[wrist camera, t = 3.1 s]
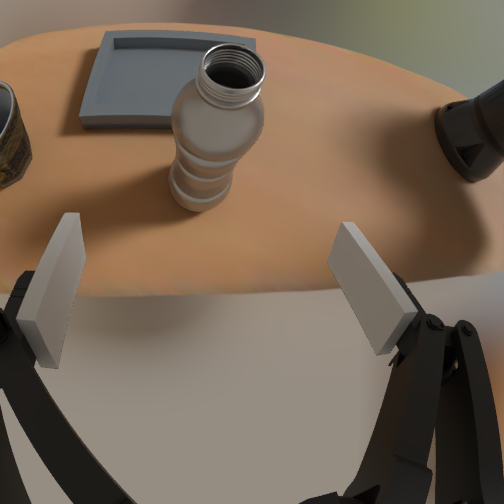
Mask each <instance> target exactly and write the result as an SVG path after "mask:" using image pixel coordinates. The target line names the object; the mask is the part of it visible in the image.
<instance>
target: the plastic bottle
mask: <svg viewBox="0 0 504 504" xmlns="http://www.w3.org/2000/svg"><path fill="white" fill-rule="evenodd" d="M265 74H266V67H265V64H264V61H263V59H262V58H261V57H260V55H258V54H257V53H256V52H255V51H254V50H252V49H251V48H249V47H247V46H244V45H241V44H236V43H223V44H219V45H216V46H214V47H212V48H210V49H209V50H207V52H206V53H205V54H204V55H203V57H202V59H201V62H200V67H199V70H198V71H197V75H196V78H194V79H192V80H191V81H189V82H188V83H187V84H186V85H185V86H184V87H183V88H182V89H181V91H180V92H179V94H178V95H177V97H176V99H175V101H174V103H173V106H172V110H171V123H172V129H173V134H174V138H175V142H176V155H175V159H174V161H173V163H172V165H171V168H170V171H169V176H168V184H169V188H170V191H171V193H172V195H173V197H174V199H175V200H176V201H177V203H178V204H180V205H181V206H182V207H184V208H185V209H187V210H190V211H195V212H202V211H207V210H210V209H212V208H214V207H216V206H217V205H218V204H220V203H221V202H222V201H223V200H224V199H225V198H226V196H227V195H228V193H229V191H230V188H231V184H232V176H233V170H234V167H235V166H236V164H237V163H238V161H239V160H240V159H241V158H242V156H243V155H244V154H245V153H246V152H247V151H249V149H250V148H251V147H252V146H253V145H254V144H255V142H256V141H257V140H258V138H259V136H260V135H261V133H262V129H263V126H264V105H263V102H262V99H261V97H260V95H259V93H260V90H261V85H262V83H263V81H264V78H265Z"/></svg>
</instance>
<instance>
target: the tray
mask: <svg viewBox="0 0 504 504" xmlns="http://www.w3.org/2000/svg"><path fill="white" fill-rule="evenodd" d="M223 43H236V44H241V45H244V46H247V47H249V48H251V49H252V50H254V51H255V52H256V41H255V39H253V38H247V37H240V36H232V35H224V34H214V33H203V32H190V31H170V30H123V31H106V32H105V34H104V37H103V39H102V42H101V45H100V48H99V50H98V53H97V56H96V59H95V62H94V65H93V68H92V71H91V74H90V77H89V81H88V84H87V87H86V91H85V94H84V98H83V102H82V105H81V109H80V113H79V118H80V121H81V123H82V125H83V128H84V129H106V128H147V129H172V123H171V110H172V106H173V103H174V101H175V99H176V97H177V95H178V94H179V92H180V91H181V89H182V88H183V87H184V86H185V85H186V84H187V83H188V82H189V81H191V80H192V79H194V78H196V75H197V71H198V70H199V67H200V62H201V59H202V57H203V55H204V54H205V53H206V52H207V50H209V49H210V48H212V47H214V46H216V45H219V44H223Z"/></svg>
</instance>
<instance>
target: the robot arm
mask: <svg viewBox="0 0 504 504" xmlns="http://www.w3.org/2000/svg"><path fill="white" fill-rule="evenodd" d="M435 126H436V132H437V136H438V139H439V142H440V144H441V147H442V149H443V151H444V153H445V155H446V156H447V158H448V160H449V161H450V163H451V164H452V165H453V167H454V168H455V169H456V170H457V171H458V172H459V173H460V174H461V175H462V176H463V177H464V178H466V179H467V180H469V181H472V182H478V181H481V180H483V179H486V178H487V177H489V176H490V175H491V174H492V173H493V172H494V171H495V170H496V169H497V168H498V167H499V166H500V165H501V163H502V162H503V161H504V80H502V81H501V82H499V83H497V84H496V85H495V86H493V87H491V88H489V89H488V90H486V91H485V92H483V93H481V94H480V95H479V96H477V97H475V98H474V99H469V100H463V101H458V102H452V103H449V104H447V105H445V106H444V107H442V108H441V109H439V110H438V112H437V114H436V117H435ZM85 262H86V254H85V248H84V242H83V236H82V229H81V222H80V214H79V213H64V215H63V217H62V219H61V221H60V222H59V224H58V226H57V228H56V230H55V232H54V234H53V236H52V238H51V240H50V242H49V244H48V246H47V248H46V250H45V252H44V254H43V256H42V258H41V260H40V262H39V265H38V267H37V269H36V271H25V272H24V273H23V274H22V275H21V276H20V277H19V278H18V279H17V282H16V284H15V286H14V290H12V293H11V295H10V297H9V299H8V302H7V304H6V307H5V309H4V311H3V310H2V308H0V389H1V388H2V389H3V391H4V393H5V395H6V397H7V399H8V401H9V403H10V405H11V407H12V409H13V411H14V413H15V415H16V417H17V419H18V421H19V423H20V424H21V426H22V428H23V430H24V431H25V433H26V435H27V436H28V438H29V440H30V442H31V443H32V445H33V447H34V448H35V450H36V451H37V453H38V454H39V456H40V458H41V459H42V461H43V462H44V464H45V465H46V467H47V468H48V470H49V471H50V473H51V474H52V476H53V477H54V478H55V480H56V481H57V483H58V484H59V485H60V487H61V488H62V489H63V491H64V492H65V493H66V495H67V496H68V497H69V499H70V500H71V501H72V502H73V504H137V503H136V502H135V501H134V500H133V499H132V498H131V497H130V496H129V495H128V494H127V493H126V492H125V491H124V490H123V489H122V488H121V487H120V485H119V484H118V483H117V482H116V481H115V480H114V479H113V478H112V477H111V475H110V474H109V473H108V472H107V471H106V470H105V468H104V467H103V466H102V465H101V464H100V463H99V461H98V460H97V459H96V458H95V457H94V455H93V454H92V453H91V452H90V450H89V449H88V448H87V446H86V445H85V444H84V443H83V441H82V440H81V439H80V437H79V436H78V435H77V433H76V432H75V431H74V429H73V428H72V426H71V425H70V424H69V422H68V421H67V419H66V418H65V416H64V415H63V414H62V412H61V411H60V409H59V408H58V406H57V405H56V403H55V401H54V400H53V399H52V397H51V395H50V394H49V392H48V390H47V389H46V387H45V385H44V384H43V382H42V380H41V379H40V377H39V375H38V374H37V372H36V370H35V368H34V365H35V361H36V359H37V361H38V363H39V365H40V366H41V367H45V368H54V369H58V366H59V361H60V356H61V352H62V347H63V342H64V338H65V334H66V330H67V326H68V322H69V318H70V313H71V310H72V306H73V302H74V299H75V295H76V292H77V288H78V285H79V282H80V278H81V275H82V272H83V269H84V266H85ZM327 264H328V265H329V267H330V269H331V271H332V273H333V274H334V276H335V278H336V280H337V282H338V283H339V285H340V287H341V289H342V290H343V292H344V294H345V296H346V298H347V300H348V302H349V304H350V305H351V307H352V309H353V311H354V313H355V315H356V317H357V318H358V320H359V322H360V324H361V326H362V328H363V330H364V332H365V334H366V336H367V338H368V340H369V342H370V344H371V346H372V348H373V350H374V351H375V353H376V355H382V354H388V353H390V352H391V351H392V349H393V348H394V346H395V345H397V347H398V349H399V351H398V352H397V354H396V355H395V356H394V358H393V359H392V360H391V362H390V363H389V366H391V365H392V363H394V364H393V368H392V372H391V375H390V379H389V383H388V386H387V389H386V393H385V396H384V399H383V403H382V406H381V409H380V413H379V415H378V418H377V422H376V425H375V428H374V431H373V434H372V436H371V439H370V442H369V445H368V447H367V450H366V453H365V455H364V458H363V460H362V463H361V466H360V468H359V471H358V473H357V475H356V477H355V479H354V481H353V482H352V483H351V484H350V485H349V487H348V488H347V489H346V491H345V493H344V494H343V496H338V494H337V492H333V493H329V494H325V495H322V496H318V497H314V498H310V499H307V500H305V501H303V502H301V503H299V504H425V503H426V499H427V496H428V492H429V489H430V485H431V481H432V474H433V473H432V470H430V469H429V468H427V461H428V456H429V452H430V447H431V443H432V438H433V432H434V428H435V436H436V484H435V504H504V477H503V463H502V451H501V443H500V435H499V428H498V421H497V415H496V409H495V404H494V398H493V393H492V388H491V383H490V379H489V375H488V370H487V366H486V362H485V359H484V354H483V351H482V347H481V343H480V340H479V337H478V333H477V331H476V329H475V327H474V326H473V325H472V324H471V323H470V322H468V321H465V320H460V321H458V322H457V324H456V325H455V326H454V327H450V326H445V325H444V324H443V322H442V321H441V320H440V319H439V318H438V317H436V316H435V315H432V314H426V313H425V311H424V310H423V308H422V307H421V305H420V304H419V302H418V301H417V300H416V298H415V297H414V295H413V294H412V292H411V291H410V289H409V288H407V285H406V284H405V282H404V281H403V280H402V279H401V278H400V277H399V276H398V275H397V274H395V273H391V271H390V270H389V268H388V267H387V266H386V264H385V263H384V262H383V260H382V259H381V258H380V256H379V255H378V254H377V252H376V251H375V249H374V248H373V247H372V246H371V244H370V243H369V242H368V240H367V239H366V238H365V236H364V235H363V234H362V232H361V231H360V230H359V229H358V227H357V226H356V225H355V223H354V222H342V221H341V224H340V227H339V230H338V233H337V236H336V239H335V241H334V244H333V247H332V250H331V253H330V255H329V258H328V261H327ZM457 362H458V368H457V369H456V368H455V364H456V363H457ZM0 504H31V501H30V499H29V496H28V494H27V492H26V489H25V486H24V484H23V481H22V479H21V476H20V473H19V470H18V467H17V464H16V461H15V458H14V455H13V452H12V449H11V445H10V442H9V438H8V435H7V431H6V427H5V423H4V420H3V416H2V411H1V406H0Z"/></svg>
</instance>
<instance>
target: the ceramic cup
mask: <svg viewBox="0 0 504 504" xmlns="http://www.w3.org/2000/svg"><path fill="white" fill-rule="evenodd" d="M31 160H32V152H31V146H30V140H29V137H28V134H27V132H26V129H25V126H24V124H23V121H22V118H21V114H20V109H19V106H18V103H17V100H16V97H15V95H14V92H13V90H12V88H11V87H10V86H9V85H8V84H7V83H5V82H2V81H0V186H3V187H7V186H9V185H11V184H13V183H14V182H16V181H18V180H20V179H21V178H22V177H23V175H24V173H25V171H26V169H27V167H28V166H29V164H30V162H31Z"/></svg>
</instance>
